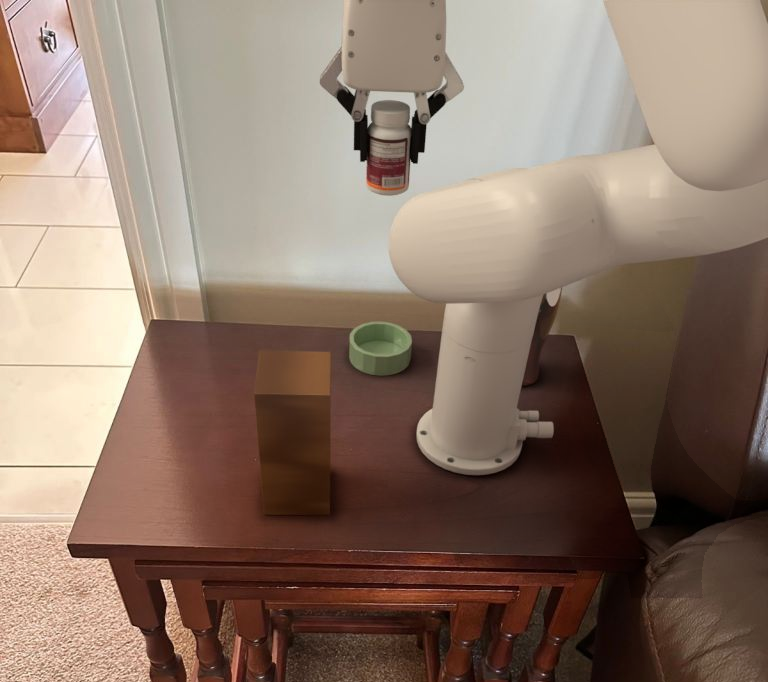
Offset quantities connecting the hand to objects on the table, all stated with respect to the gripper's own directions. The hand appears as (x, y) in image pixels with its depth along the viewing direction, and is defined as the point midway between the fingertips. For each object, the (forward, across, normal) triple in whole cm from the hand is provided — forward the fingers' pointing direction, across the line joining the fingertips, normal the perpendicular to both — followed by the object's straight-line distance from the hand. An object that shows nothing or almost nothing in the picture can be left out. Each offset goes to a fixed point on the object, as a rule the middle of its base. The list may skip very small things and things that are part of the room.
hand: (388, 156), depth 83 cm
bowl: (+27, 0, -2) cm, 27 cm away
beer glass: (+27, -18, 0) cm, 33 cm away
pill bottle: (+4, 0, 0) cm, 4 cm away
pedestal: (+27, +9, +24) cm, 37 cm away
